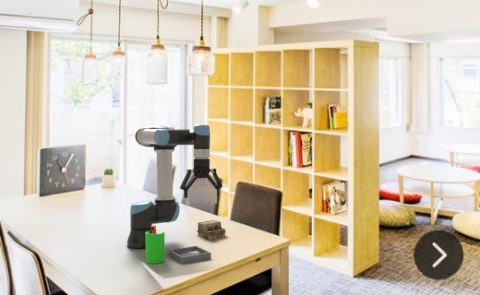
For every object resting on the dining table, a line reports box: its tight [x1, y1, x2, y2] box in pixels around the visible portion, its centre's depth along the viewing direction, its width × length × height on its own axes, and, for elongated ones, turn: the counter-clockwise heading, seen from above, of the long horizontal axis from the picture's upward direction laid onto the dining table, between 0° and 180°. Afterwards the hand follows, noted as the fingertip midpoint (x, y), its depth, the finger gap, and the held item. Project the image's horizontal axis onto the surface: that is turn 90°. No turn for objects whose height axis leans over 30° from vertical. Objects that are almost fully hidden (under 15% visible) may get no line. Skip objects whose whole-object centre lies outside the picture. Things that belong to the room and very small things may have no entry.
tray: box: [168, 245, 212, 265], centre depth 207 cm, size 16×16×3 cm
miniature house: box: [196, 219, 227, 241], centre depth 237 cm, size 15×14×11 cm
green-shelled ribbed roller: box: [145, 224, 166, 265], centre depth 200 cm, size 9×8×18 cm
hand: (201, 204), depth 190 cm, fingers open, 13 cm apart
